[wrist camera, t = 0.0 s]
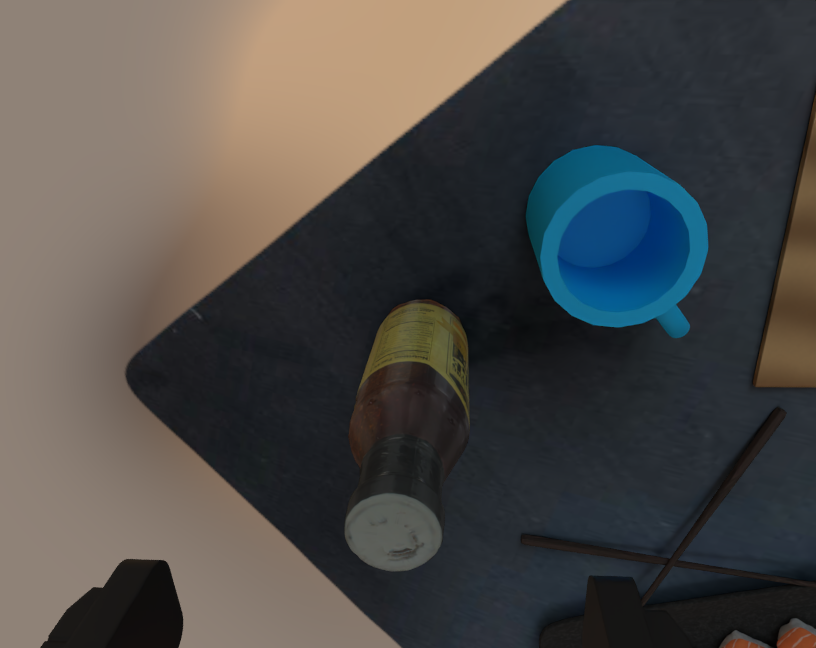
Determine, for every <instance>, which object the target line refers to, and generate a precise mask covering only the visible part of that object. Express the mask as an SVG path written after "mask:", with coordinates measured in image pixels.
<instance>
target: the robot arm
mask: <svg viewBox="0 0 816 648" xmlns="http://www.w3.org/2000/svg"><path fill="white" fill-rule="evenodd" d="M182 631H183V615H182V611H181V607H180V603H179V600H178V596H177V593H176V589H175V586H174V582H173V579H172V575H171V571H170V568H169V565H168V564H167V562H166V561H164V560H138V559H126V560H124V561H122V562H121V563H120V564H119V565H118V566H117V568H116V569H115V571H114V572H113V574H112V575H111V577H110V578H109V580H108V581H107V583H106V584H105V586H104V587H103V588H96V587H93V588H92V589H91V590H90V591H88V592H87V593H86V594H85V595H84V596H82V597H81V598H80V599H79V600H78V601H77V602H75V603H74V604H73V605H72V606H71V607H70V608H68V609H67V610H66V612H65V613H64V615H63V616H62V617H61V619H60V620H59V622H58V623H57V625H56V626H55V628H54V629H53V630H52V632H51V633H50V635H49V638H48V641H45V642H44V643H43V645H42V646H41V648H178V647H179V644H180V641H181V636H182ZM582 648H692V645H691V642H690V640H689V637H688V636H687V635H686V634H685V632H684V631H683V630H682V629H681V628H680V626H679V625H678V624H677V623H676V621H675V620H674V619H673V618H672V617H671V615H670V614H669V613H668V612H667V611H666V610H644V609H643V606H642V602H641V599H640V596H639V593H638V590H637V587H636V584H635V582H634V580H633V578H632V577H616V576H589V578H588V584H587V594H586V603H585V613H584V622H583V632H582Z"/></svg>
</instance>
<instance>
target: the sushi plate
mask: <svg viewBox="0 0 816 648" xmlns="http://www.w3.org/2000/svg"><path fill="white" fill-rule="evenodd" d="M785 416H786V412H785V411H784V410H783V409H780V408H778V407H777V408H776V409H775V410H774V411H773V412H772V414H771V415H770V417H769V418H768V419H767V421H766V422H765V424H764V425H763V426H762V428H761V429H760V431H759V432H758V434H757V435H756V436H755V438H754V439H753V441H752V442H751V443H750V445H749V446H748V448H747V449H746V450H745V452H744V453H743V455H742V456H741V458H740V459H739V460H738V462H737V463H736V465H735V466H734V468H733V469H732V470H731V472H730V473H729V475H728V476H727V478H726V479H725V480H724V482H723V483H722V485H721V486H720V488H719V489H718V491H717V492H716V493H715V495H714V496H713V498H712V499H711V501H710V502H709V504H708V505H707V507H706V508H705V509H704V511H703V512H702V514H701V515H700V517H699V518H698V520H697V521H696V522H695V524H694V525H693V527H692V528H691V530H690V531H689V533H688V534H687V536H686V537H685V538H684V540H683V541H682V543H681V544H680V546H679V547H678V548H677V550H676V551H675V553H674V554H673V556H672V557H671V558H670V559H668V558H662V557H657V556H651V555H645V554H640V553H634V552H628V551H622V550H617V549H611V548H605V547H599V546H593V545H587V544H581V543H575V542H569V541H563V540H557V539H551V538H545V537H538V536H532V535H522V536H521V543H522V544H525V545H530V546H537V547H543V548H549V549H556V550H563V551H570V552H577V553H583V554H590V555H597V556H604V557H611V558H618V559H625V560H632V561H639V562H647V563H654V564H661V565H665V567H664V568H663V570H662V571H661V572H660V574H659V575H658V577H657V578H656V579H655V581H654V582H653V584H652V585H651V587H650V588H649V589H648V591H647V592H646V594H645V595H644V596H643V598H642V599H641V602H642V606H643V609H644V610H666V611H667V612H668V613H669V614H670V615H671V617H672V618H673V619H674V620H675V621H676V623H677V624H678V625H679V626H680V628H681V629H682V630H683V631H684V632H685V634H686V635H687V636H688V637H689V640H690V642H691V645H692V648H816V581H811V582H809V581H802V580H796V579H790V578H784V577H778V576H771V575H765V574H759V573H753V572H747V571H741V570H734V569H728V568H722V567H716V566H710V565H704V564H698V563H692V562H686V561H680V560H678V559H679V557H680V556H681V555H682V553H683V552H684V551H685V549H686V548H687V547H688V545H689V544H690V543H691V541H692V540H693V539H694V537H695V536H696V535H697V534H698V532H699V531H700V530H701V528H702V527H703V526H704V524H705V523H706V522H707V520H708V519H709V518H710V517H711V515H712V514H713V513H714V511H715V510H716V509H717V507H718V506H719V505H720V503H721V502H722V501H723V500H724V498H725V497H726V496H727V494H728V493H729V492H730V490H731V489H732V488H733V486H734V485H735V484H736V482H737V481H738V480H739V478H740V477H741V476H742V474H743V473H744V472H745V470H746V469H747V468H748V466H749V465H750V464H751V462H752V461H753V460H754V458H755V457H756V456H757V454H758V453H759V452H760V450H761V449H762V448H763V446H764V445H765V444H766V442H767V441H768V440H769V438H770V437H771V436H772V434H773V433H774V432H775V430H776V429H777V427H778V426H779V425H780V423H781V422H782V421H783V419H784V418H785ZM673 566H675V567H682V568H689V569H696V570H703V571H710V572H716V573H723V574H729V575H736V576H742V577H749V578H755V579H762V580H769V581H775V582H782V583H788V584H790V585H783V586H777V587H770V588H763V589H756V590H749V591H742V592H736V593H729V594H722V595H715V596H708V597H702V598H695V599H688V600H681V601H674V602H667V603H661V604H654V605H647V606H644V605H645V603H646V602H647V601H648V599H649V598H650V597H651V595H652V594H653V593H654V591H655V590H656V588H657V587H658V586H659V584H660V583H661V582H662V580H663V579H664V578H665V576H666V575H667V574H668V572H669V571H670V570H671V568H672V567H673ZM583 622H584V615H582V616H577V617H572V618H567V619H563V620H560V621H557V622H554V623H552V624H550V625H548V626H547V627H545V628H544V629H543V630H542V632H541V634H540V639H539V647H540V648H582V632H583Z"/></svg>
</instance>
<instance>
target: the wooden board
mask: <svg viewBox="0 0 816 648" xmlns="http://www.w3.org/2000/svg"><path fill="white" fill-rule="evenodd" d="M753 385H754V386H755V387H816V94H815V98H814V103H813V107H812V112H811V117H810V121H809V126H808V130H807V135H806V140H805V144H804V149H803V153H802V158H801V163H800V167H799V172H798V176H797V181H796V186H795V190H794V195H793V199H792V204H791V209H790V213H789V218H788V222H787V227H786V232H785V236H784V241H783V245H782V250H781V255H780V259H779V264H778V268H777V273H776V278H775V282H774V287H773V291H772V296H771V301H770V305H769V310H768V315H767V319H766V324H765V328H764V333H763V338H762V342H761V347H760V351H759V356H758V361H757V365H756V370H755V374H754V379H753Z"/></svg>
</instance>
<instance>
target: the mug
mask: <svg viewBox="0 0 816 648" xmlns="http://www.w3.org/2000/svg"><path fill="white" fill-rule="evenodd" d="M526 222H527V228H528V234H529V238H530V241H531V244H532V247H533V250H534V253H535V256H536V259H537V262H538V265H539V268H540V271H541V274H542V277H543V280H544V282H545V284H546V286H547V288H548V289H549V291H550V293H551V295H552V297H553V298H554V300H555V301H556V302H557V303H558V304H559V305H560V306H561V307H563V308H564V309H565V310H566V311H567V312H568V313H569V314H570V315H572V316H574V317H576V318H578V319H581V320H583V321H585V322H588V323H590V324H593V325H599V326H609V327H623V326H629V325H635V324H641V323H644V322H646V321H649V320H651V319H653V318H656V319H657V320H658V322H659V323H660V324H661V325H662V327H663V328H664V329H665V331H666V332H667V333H668V334H669V335H670V336H671V337H673V338H680V337H682V336H684V335H686V334H687V333H688V331H689V329H690V325H689V322H688V321H687V320H686V318H685V317H684V315H683V314H682V312H681V311H680V310H679V308H678V307H677V305H676V304H677V303H678V302H679V301H680V300H682V299H683V298H684V297H685V296H686V295H687V294H688V292H689V291H690V289H691V288H692V286H693V285H694V283H695V282H696V280H697V279H698V278H699V276H700V275H701V272H702V269H703V265H704V262H705V259H706V255H707V252H708V233H707V223H706V221H705V219H704V216H703V214H702V212H701V210H700V207H699V205H698V203H697V202H696V201H695V200H694V199H693V198H692V197H691V196H690V194H689V193H688V192H687V191H686V190H685V189H684V188H683V187H682V186H681V185H679V184H678V183H676V182H675V181H673V180H672V179H670V178H669V177H667V176H666V175H664V174H663V173H661V172H660V171H658V170H657V169H655V168H654V167H652V166H651V165H649V164H648V163H646V162H645V161H643V160H642V159H640V158H639V157H637V156H636V155H633V154H631V153H629V152H627V151H625V150H622V149H620V148H618V147H611V146H600V145H593V146H589V147H584V148H580V149H575V150H572V151H571V152H569V153H567V154H565V155H564V156H562V157H560V158H558V159H557V160H555V161H553V162H552V163H551V165H550V166H549V167H548V168H547V169H546V170H545V171H544V172H543V173H542V174H541V175H540V176H539V177H538V179H537V181H536V183H535V185H534V187H533V189H532V191H531V193H530V195H529V198H528V204H527V210H526Z"/></svg>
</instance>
